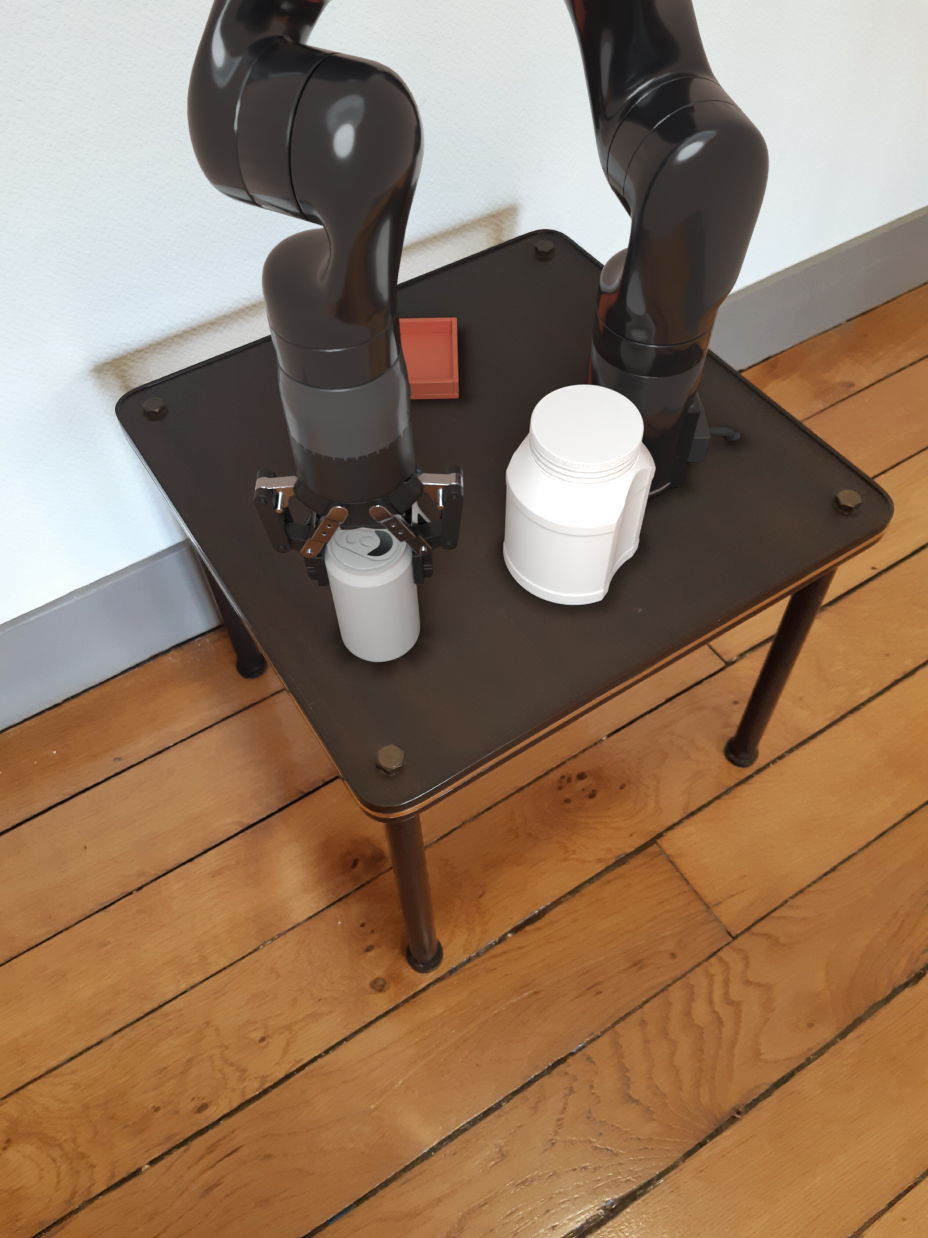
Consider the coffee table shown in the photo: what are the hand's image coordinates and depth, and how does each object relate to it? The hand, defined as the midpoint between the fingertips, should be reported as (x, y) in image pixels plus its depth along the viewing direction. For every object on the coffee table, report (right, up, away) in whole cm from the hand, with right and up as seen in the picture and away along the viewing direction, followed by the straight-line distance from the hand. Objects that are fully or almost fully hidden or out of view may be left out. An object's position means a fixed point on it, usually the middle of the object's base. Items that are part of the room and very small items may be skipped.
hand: (372, 575), depth 70 cm
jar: (+16, +3, +11) cm, 20 cm away
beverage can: (0, -4, +6) cm, 8 cm away
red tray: (+1, +22, +24) cm, 33 cm away
